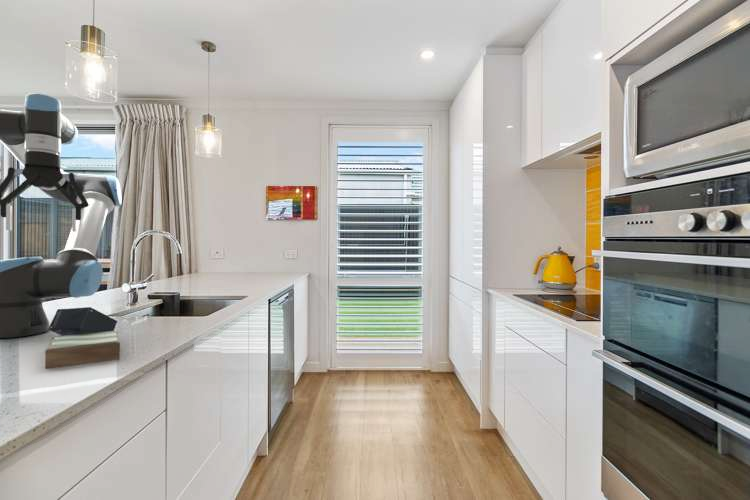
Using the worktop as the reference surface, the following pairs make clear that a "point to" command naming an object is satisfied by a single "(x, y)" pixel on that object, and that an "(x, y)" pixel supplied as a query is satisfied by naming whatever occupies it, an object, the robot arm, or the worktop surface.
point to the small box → (81, 321)
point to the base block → (82, 349)
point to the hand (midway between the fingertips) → (42, 231)
